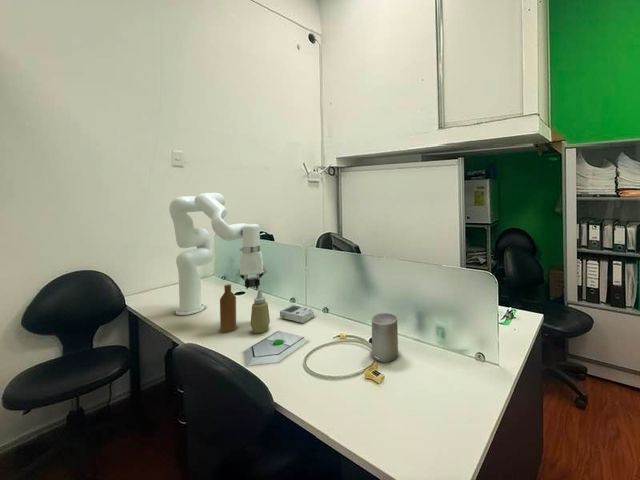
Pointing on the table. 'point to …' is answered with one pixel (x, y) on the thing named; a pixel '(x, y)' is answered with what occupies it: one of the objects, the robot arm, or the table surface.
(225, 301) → the bottle
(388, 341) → the pillar candle
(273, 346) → the security device
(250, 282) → the cap
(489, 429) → the table surface
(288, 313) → the handheld gaming device
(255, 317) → the squeeze bottle
